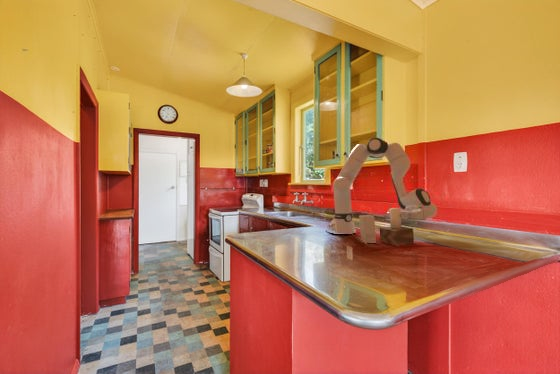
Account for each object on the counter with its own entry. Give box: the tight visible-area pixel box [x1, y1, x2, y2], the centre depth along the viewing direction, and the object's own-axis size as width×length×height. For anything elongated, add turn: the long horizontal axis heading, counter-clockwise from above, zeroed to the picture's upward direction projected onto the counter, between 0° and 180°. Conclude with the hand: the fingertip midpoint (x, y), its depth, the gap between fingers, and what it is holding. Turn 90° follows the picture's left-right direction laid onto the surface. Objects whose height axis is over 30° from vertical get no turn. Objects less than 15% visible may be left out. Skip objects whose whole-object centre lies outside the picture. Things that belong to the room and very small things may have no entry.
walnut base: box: [379, 226, 415, 247], centre depth 140 cm, size 12×12×8 cm
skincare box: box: [358, 214, 377, 244], centre depth 143 cm, size 8×7×16 cm
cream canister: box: [389, 207, 402, 229], centre depth 140 cm, size 6×6×11 cm
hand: (393, 214), depth 140 cm, fingers open, 8 cm apart
